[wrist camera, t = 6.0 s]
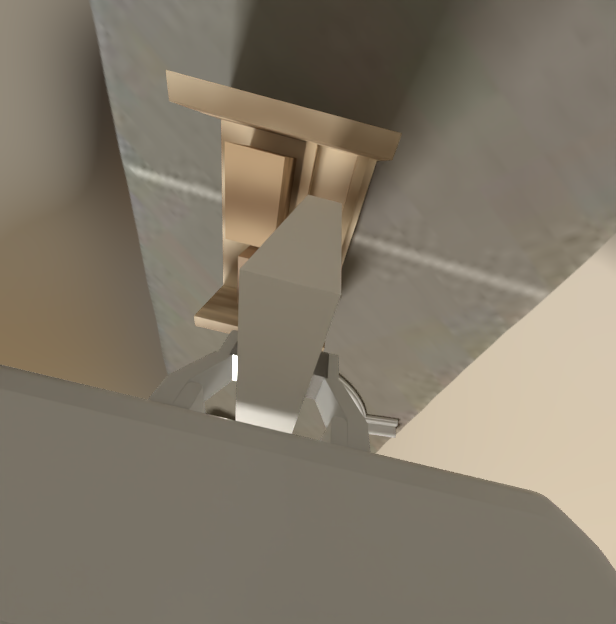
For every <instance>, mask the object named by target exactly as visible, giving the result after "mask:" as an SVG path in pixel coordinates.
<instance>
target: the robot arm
mask: <svg viewBox="0 0 616 624" xmlns="http://www.w3.org/2000/svg"><path fill="white" fill-rule="evenodd" d="M237 346H238V331H237V330H232V331H231V333H230V334H229V336H228V337H227V339H226V340H225V342H224V343H223V345H222V347H221V348H220V350H219V351H218V352H217V351H215V352H213V353H211V354H209V355H207V356H205V357H203V358H201V359H199V360H197V361H195V362H193V363H191V364H189V365H187V366H185V367H183V368H181V369H179V370H177V371H175V372H173V373H171V374H169V375H167V376H166V378H165V379H164V380H163V382H162V383H161V384H160V385H159V387H158V388H157V389H156V390H155V391H154V393H153V394H152V395H151V396H150V398H149V399H148V400H147V399H143V398H138V397H134V396H130V395H126V394H121V393H117V392H113V391H109V390H105V389H101V388H96V387H92V386H88V385H84V384H79V383H76V382H71V381H67V380H63V379H59V378H54V377H50V376H46V375H42V374H38V373H34V372H29V371H25V370H21V369H17V368H12V367H8V366H4V365H0V624H616V571H615V569H614V568H613V567H612V565H611V564H610V562H609V561H608V559H607V558H606V556H605V555H604V554H603V553H602V551H601V550H600V549H599V547H598V546H597V545H596V544H595V543H594V542H593V541H592V540H591V539H590V538H589V537H588V536H587V535H586V534H585V533H584V532H583V531H582V530H581V529H580V528H579V527H578V526H577V525H576V524H575V523H574V522H573V521H572V520H571V519H570V518H569V517H568V516H567V515H566V514H565V513H564V512H562V510H560V509H559V508H558V507H557V506H556V505H555V504H554V503H553V502H551V501H550V500H549V499H548V498H547V497H545V496H544V495H542V494H540V493H537V492H534V491H530V490H526V489H522V488H518V487H514V486H510V485H505V484H501V483H497V482H492V481H488V480H484V479H480V478H475V477H472V476H467V475H463V474H459V473H454V472H450V471H446V470H442V469H437V468H434V467H429V466H425V465H421V464H417V463H413V462H408V461H404V460H400V459H395V458H391V457H387V456H383V455H379V454H375V453H370V442H369V432H368V423H367V422H366V420H365V418H364V417H363V415H362V414H361V412H360V411H359V409H358V407H357V406H356V404H355V403H354V401H353V399H352V398H351V396H350V395H349V393H348V392H347V390H346V388H345V387H344V385H343V384H342V382H340V381H339V356H338V355H335V354H331V353H327V352H322V351H321V353H320V356H319V359H318V361H317V364H316V367H315V370H314V373H313V375H312V378H311V381H310V384H309V387H308V389H307V392H306V395H305V397H307V398H311V399H315V401H316V404H317V406H318V409H319V411H320V414H321V416H322V419H323V421H324V424H325V426H326V430H325V432H324V433H323V435H322V437H321V439H320V440H316V439H311V438H307V437H303V436H299V435H295V434H290V433H286V432H282V431H278V430H273V429H269V428H265V427H261V426H257V425H252V424H248V423H244V422H240V421H235V420H231V419H227V418H223V417H218V416H214V415H210V414H206V412H205V404H204V402H205V401H206V400H207V399H209V398H210V397H211V396H213V395H214V394H215V393H217V392H218V391H219V390H221V389H222V388H223V387H225V386H226V385H227V384H228V383H230V382H231V381H232V380H236V381H237Z"/></svg>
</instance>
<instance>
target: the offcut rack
mask: <svg viewBox="0 0 616 624" xmlns="http://www.w3.org/2000/svg"><path fill="white" fill-rule="evenodd" d="M166 76H167V85H168V94H169V101H171V102H174V103H177V104H179V105H182V106H185V107H188V108H191V109H193V110H196V111H199V112H202V113H205V114H207V115H210V116H213V117H216V118H219V119H221V145H222V214H223V284H224V285H223V286H222V287H221V288H220V289H219V290H218V291H217V292H216V293H215V294H214V295H213V297H212V298H211V299H210V300H209V301H208V302H207V303H206V304H205V305H204V306H203V307H202V308H201V309H200V310H199V311H198V312H197V313H196V314H195V315H194V320H195V326H199V327H203V328H208V329H212V330H216V331H220V332H224V333H228V334H230V333H231V331H232V330H237V331H238V308H239V304H237V282H238V256H239V255H240V254H241V253H242V252H243V251H244V250H245V249H247V248H248V247H249V246H250V245H248V244H244V243H240V242H236V241H232V240H228V239H225V141H226V142H231V143H237V144H242V145H248V146H252V147H256V148H260V149H264V150H268V151H271V152H275V153H279V154H283V155H286V156H290V157H294V158H297V161H296V167H295V174H294V181H293V187H292V194H291V201H290V207H289V214H288V216H289V215H290V214H291V213H292V212H293V211H294V209H295V208H296V207H297V206H298V205H299V204H300V203H301V202H302V201H303V200H304V199H305V197H306V196H307V195H312V196H315V197H319V198H323V199H327V200H331V201H335V202H338V203H342V239H341V268H342V265H343V262H344V259H345V256H346V253H347V250H348V247H349V244H350V241H351V238H352V235H353V232H354V229H355V226H356V223H357V220H358V217H359V214H360V211H361V208H362V204H363V201H364V198H365V195H366V192H367V189H368V186H369V183H370V180H371V177H372V174H373V171H374V168H375V165H376V162H377V161H385V160H393V157H394V154H395V151H396V149H397V146H398V143H399V140H400V137H401V135H402V133H398V132H395V131H391V130H387V129H384V128H380V127H376V126H372V125H369V124H365V123H361V122H358V121H354V120H350V119H346V118H343V117H339V116H335V115H332V114H328V113H324V112H320V111H317V110H313V109H309V108H306V107H302V106H298V105H294V104H291V103H287V102H283V101H280V100H276V99H272V98H268V97H265V96H261V95H257V94H253V93H250V92H246V91H242V90H239V89H235V88H231V87H227V86H224V85H220V84H216V83H213V82H209V81H205V80H201V79H198V78H194V77H190V76H187V75H183V74H179V73H175V72H172V71H168V70H166ZM324 346H325V342H324V345H323V347H322V350H321V351H322V352H323V350H324Z"/></svg>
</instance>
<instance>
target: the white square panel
mask: <svg viewBox="0 0 616 624" xmlns="http://www.w3.org/2000/svg"><path fill="white" fill-rule="evenodd" d="M341 239H342V203H338V202H335V201H331V200H327V199H323V198H319V197H315V196H312V195H307V196H306V197H305V199H304V200H303V201H302V202H301V203H300V204H299V205H298V206H297V207H296V208H295V209H294V211H293V212H292V213H291V214H290V215H289V216H288V217H287V218H286V219H285V220H284V221H283V222H282V224H281V225H280V226H279V227H278V228H277V229H276V230H275V231H274V232H273V233H272V234H271V236H270V237H269V238H268V239H267V240H266V241H265V242H264V243H263V244H262V245H261V246H260V248H259V249H258V250H257V251H256V252H255V253H254V254H253V255H252V256H251V257H250V258H249V260H248V261H247V262H246V263H245V264H244V265H243V266H242V267H241V268H240V270H239V308H238V346H237V383H236V421H240V422H244V423H248V424H252V425H257V426H261V427H265V428H269V429H273V430H278V431H282V432H286V433H290V434H292V431H293V429H294V426H295V423H296V420H297V417H298V415H299V412H300V409H301V406H302V403H303V401H304V398H305V395H306V392H307V389H308V387H309V384H310V381H311V378H312V375H313V373H314V370H315V367H316V364H317V361H318V359H319V356H320V353H321V350H322V347H323V345H324V342H325V339H326V336H327V333H328V331H329V328H330V325H331V322H332V319H333V317H334V314H335V311H336V308H337V305H338V303H339V300H340V297H341Z"/></svg>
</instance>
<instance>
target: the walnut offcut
mask: <svg viewBox="0 0 616 624" xmlns="http://www.w3.org/2000/svg"><path fill="white" fill-rule="evenodd" d="M259 248H260V247H256V246H252V245H250V246H249V247H248V248H247V249H245V250H244V251H243V252H242V253H241V254H240V255H239V256H238V282H237V304H239V270H240V268H241V267H242V266H243V265H244V264H245V263H246V262H247V261H248V260H249V258H250V257H251V256H252V255H253V254H254V253H255V252H256V251H257V250H258V249H259Z"/></svg>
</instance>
